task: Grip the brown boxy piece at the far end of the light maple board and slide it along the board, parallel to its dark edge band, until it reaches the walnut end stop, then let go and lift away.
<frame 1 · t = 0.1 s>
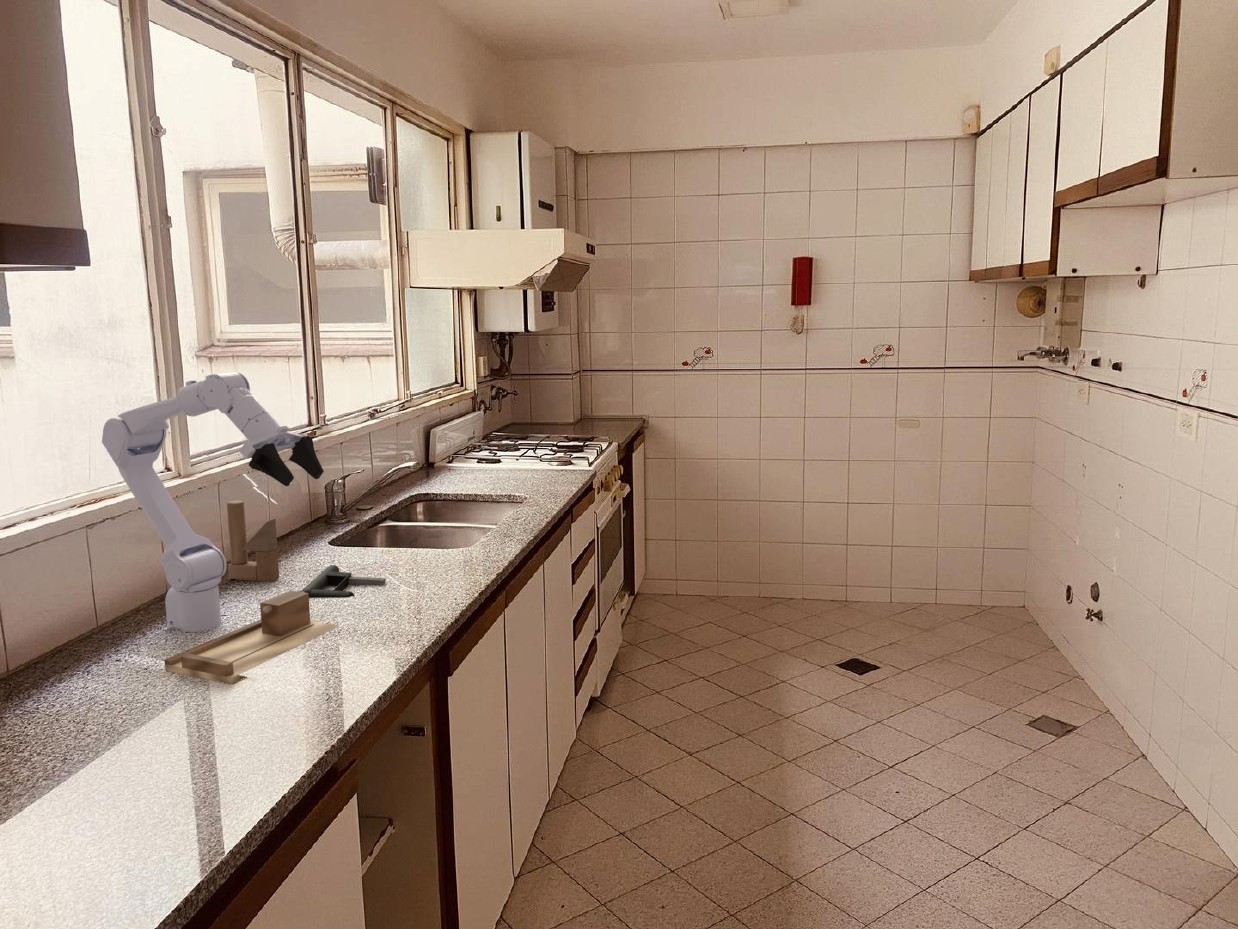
hand: (305, 478, 160), 32 cm above the worktop, tool tilted 50°, fingers open, 7 cm apart
board: (257, 650, 166), on the worktop
wooden block: (254, 579, 209), on the worktop
brown boxy piece: (286, 628, 174), point 1 cm above the worktop, touching board
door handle: (344, 592, 202), on the worktop
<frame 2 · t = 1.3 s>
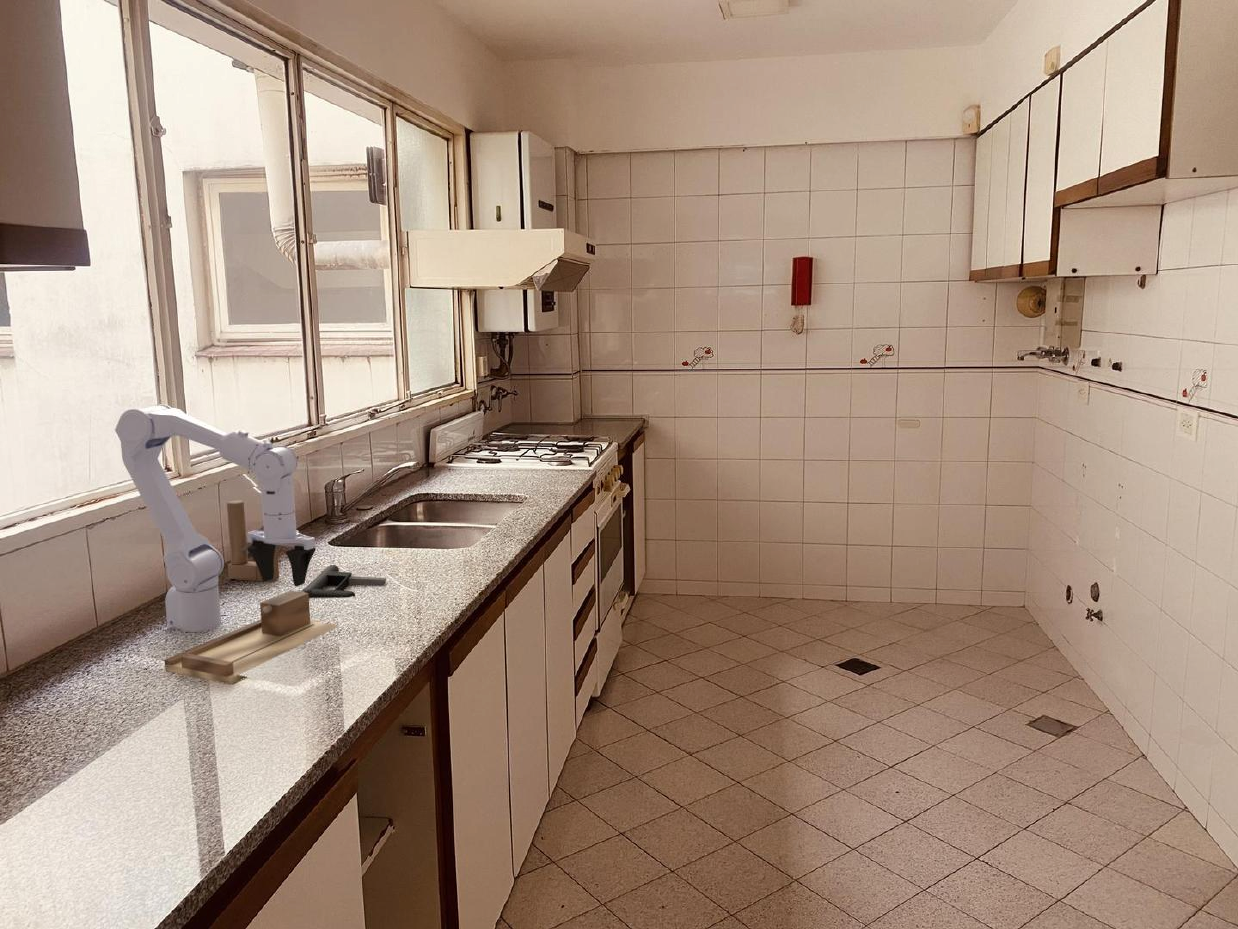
hand: (283, 582, 172), 10 cm above the worktop, tool pointing down, fingers open, 7 cm apart
nothing on the worktop moved.
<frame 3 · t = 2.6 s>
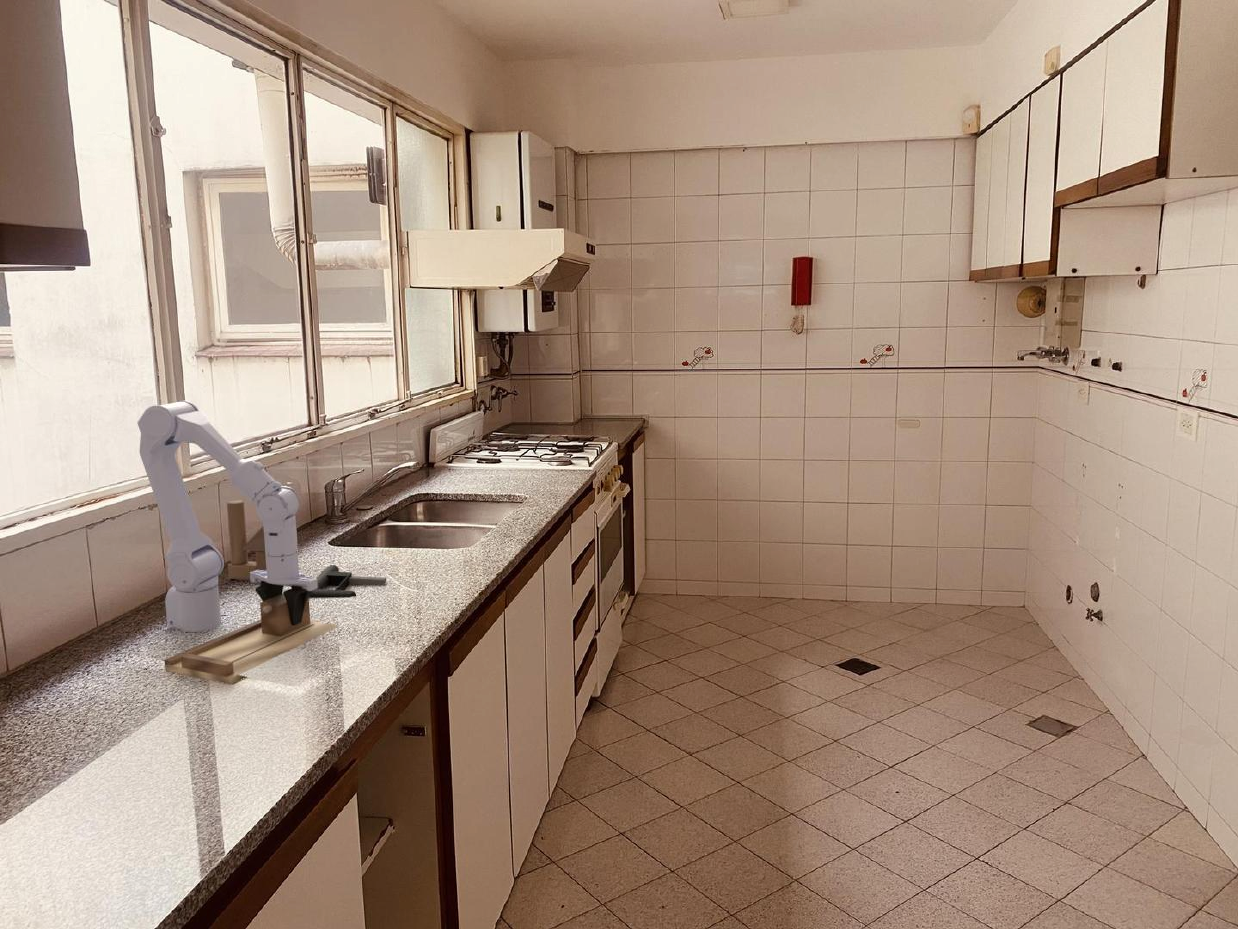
hand: (286, 622, 174), 2 cm above the worktop, tool pointing down, fingers closed on brown boxy piece, 4 cm apart
brown boxy piece: (286, 628, 174), point 1 cm above the worktop, touching board, gripper
everything else where it was.
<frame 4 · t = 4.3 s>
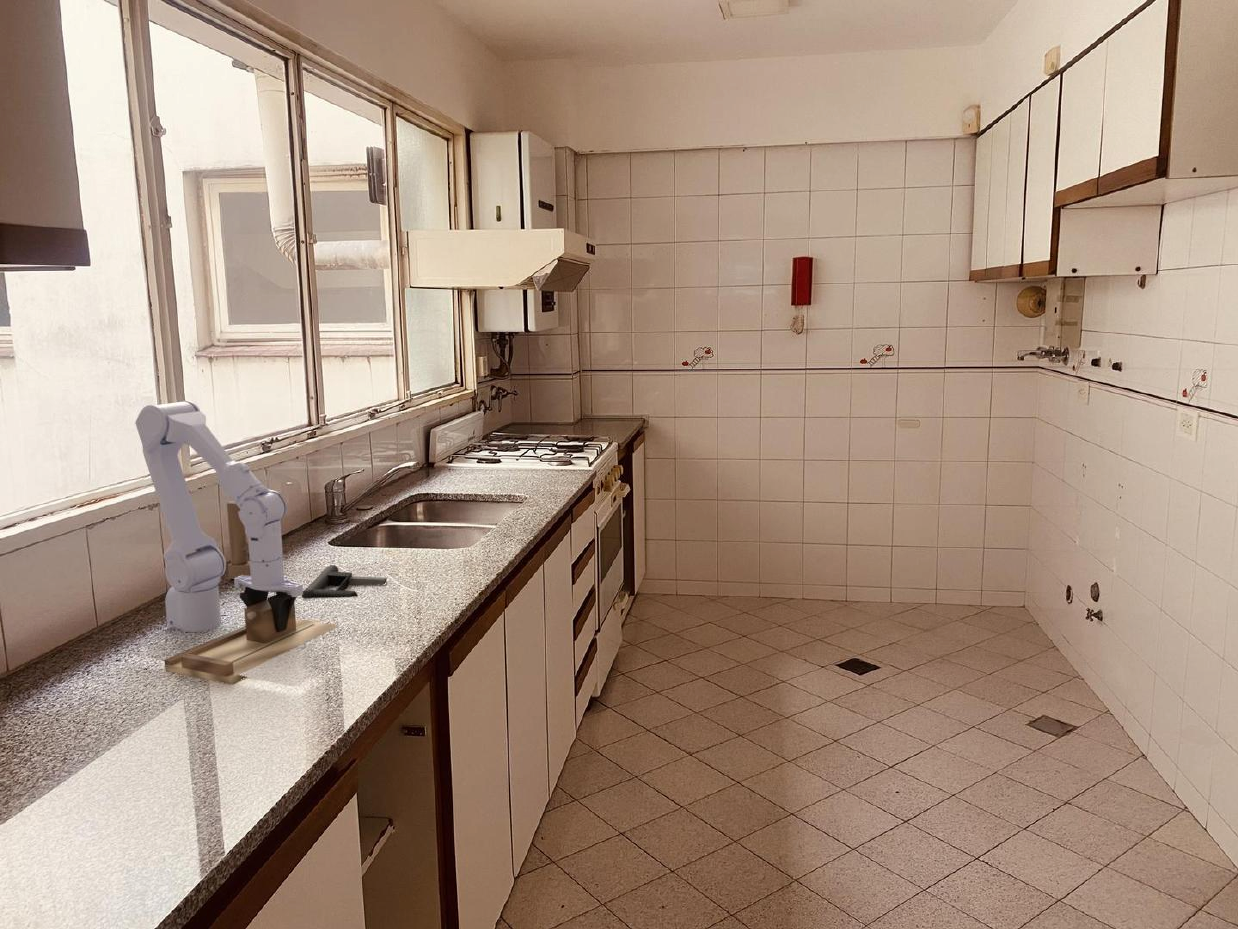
hand: (271, 628, 170), 2 cm above the worktop, tool pointing down, fingers closed on brown boxy piece, 4 cm apart
brown boxy piece: (271, 634, 170), point 1 cm above the worktop, touching gripper
everything else where it was.
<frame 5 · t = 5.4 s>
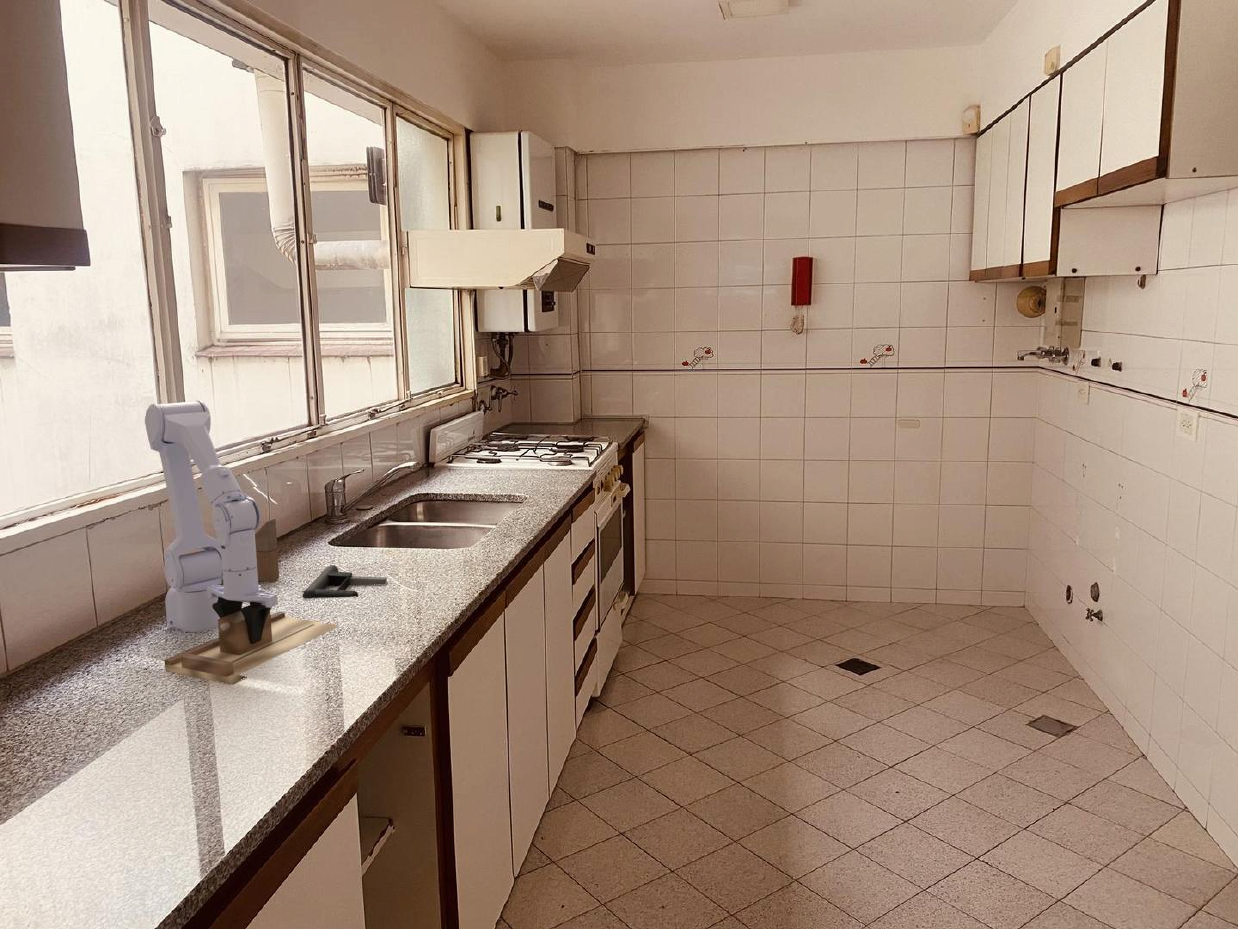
hand: (245, 640, 164), 2 cm above the worktop, tool pointing down, fingers closed on brown boxy piece, 4 cm apart
brown boxy piece: (246, 645, 165), point 1 cm above the worktop, touching gripper
everything else where it was.
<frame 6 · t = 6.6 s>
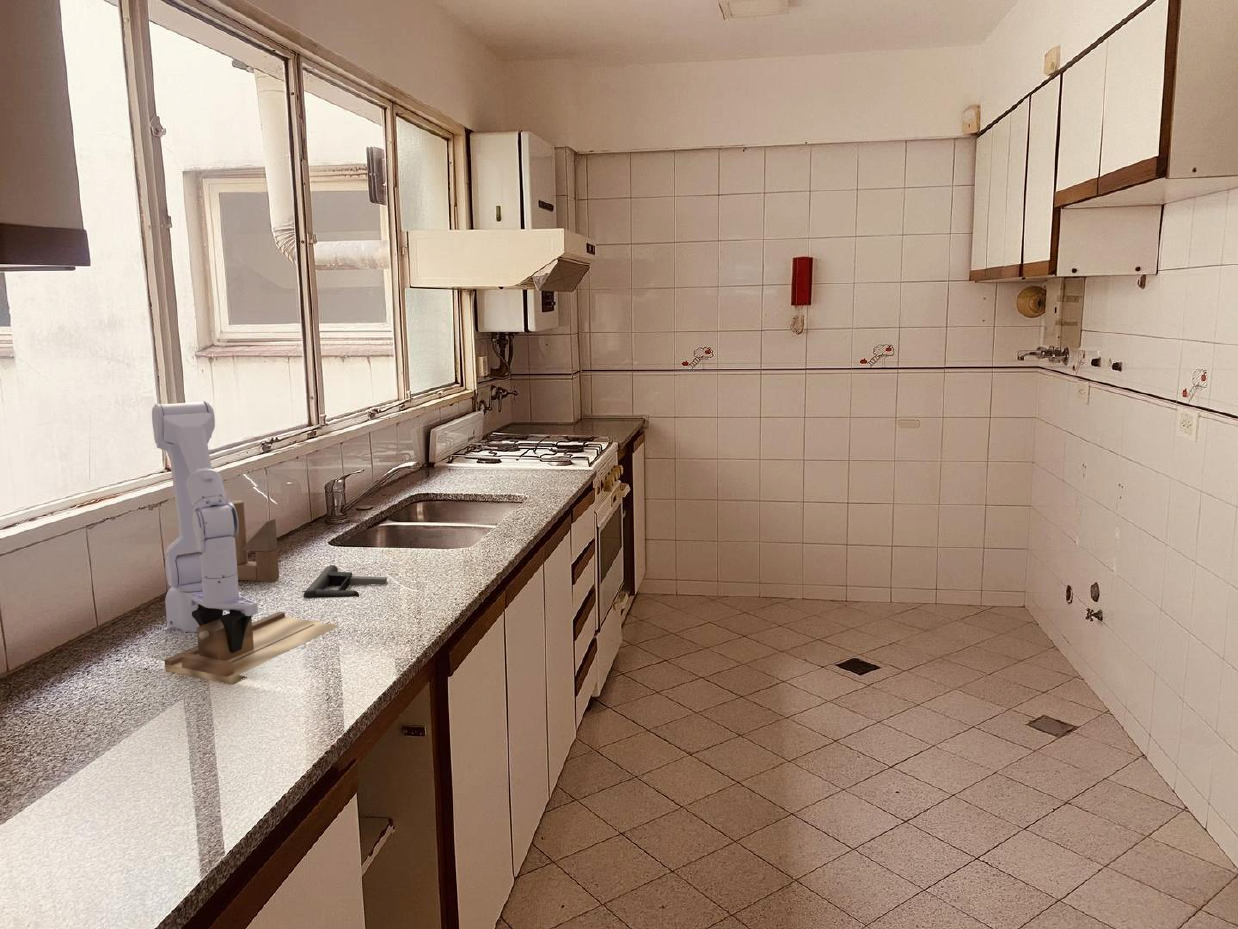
hand: (225, 648, 160), 2 cm above the worktop, tool pointing down, fingers closed on brown boxy piece, 4 cm apart
brown boxy piece: (227, 654, 161), point 1 cm above the worktop, touching gripper
everything else where it was.
when the fingers open (2 cm above the worktop, at t = 7.2 s): brown boxy piece stays where it is, resting on board.
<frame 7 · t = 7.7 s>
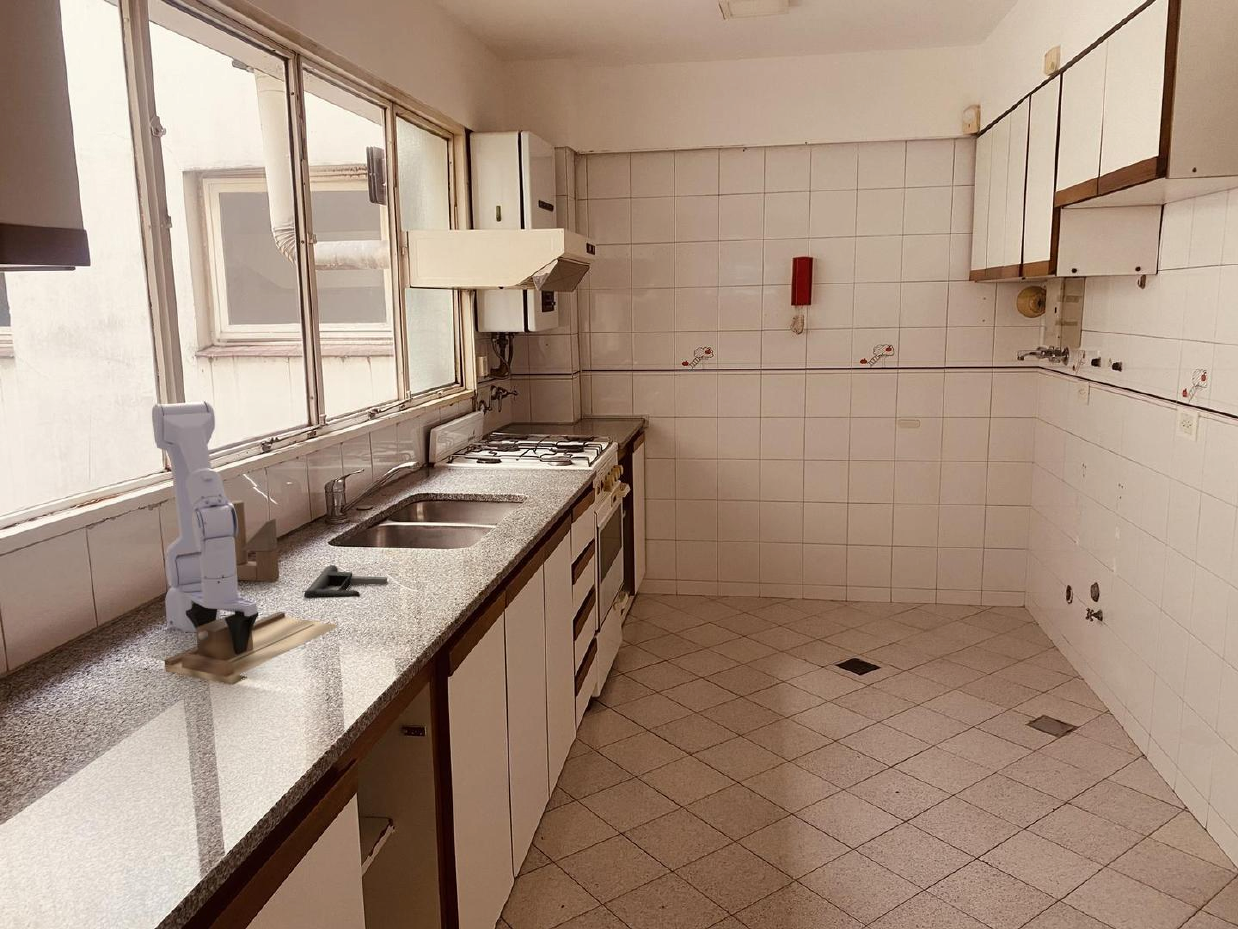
hand: (224, 649, 160), 2 cm above the worktop, tool pointing down, fingers open, 7 cm apart
brown boxy piece: (226, 655, 161), point 1 cm above the worktop, touching board
everything else where it was.
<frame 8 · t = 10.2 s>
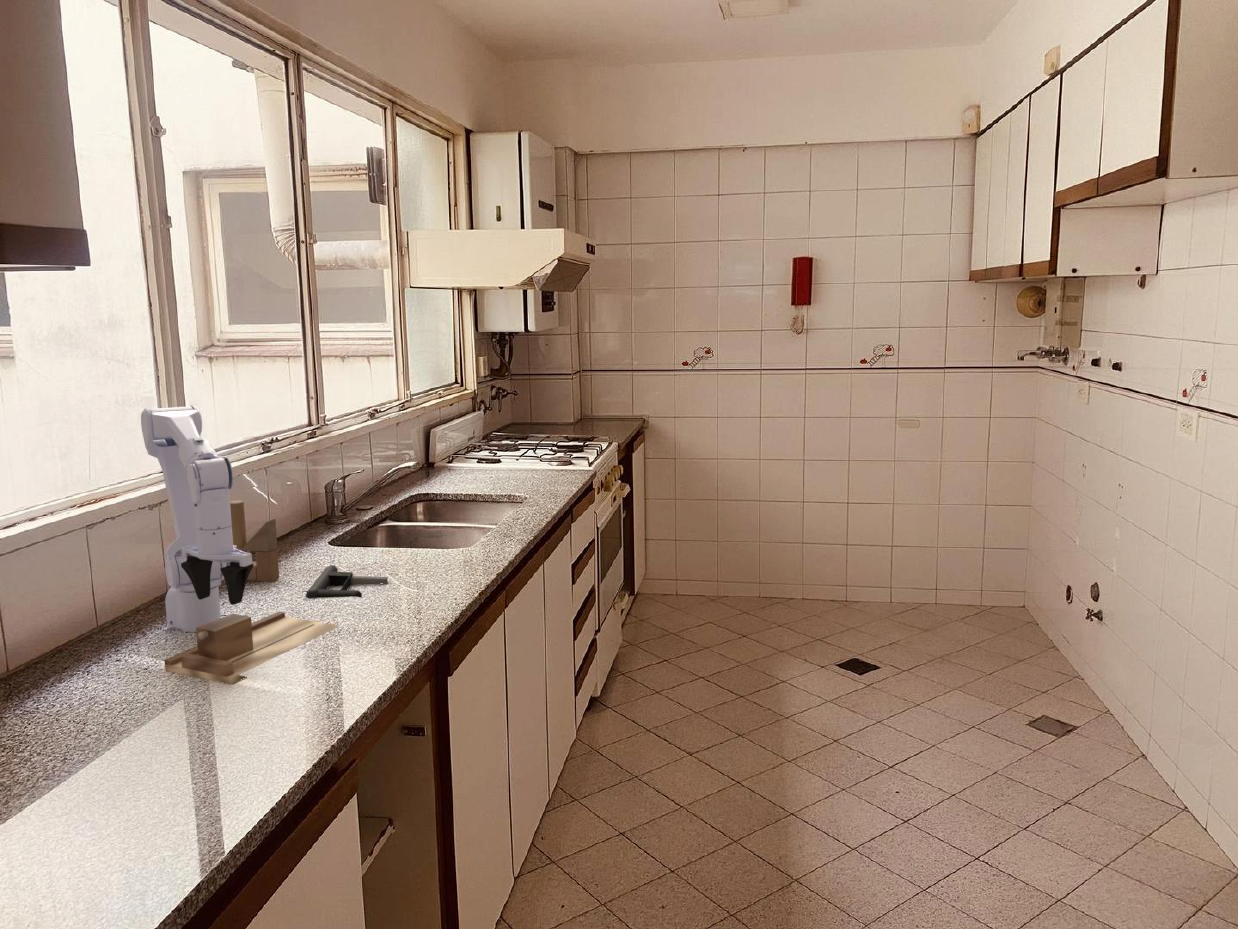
hand: (219, 600, 163), 10 cm above the worktop, tool pointing down, fingers open, 7 cm apart
nothing on the worktop moved.
at the end: brown boxy piece 0.3 cm from the target spot, point 1.2 cm above the worktop; brown boxy piece tilted 0°; the gripper is holding nothing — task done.
